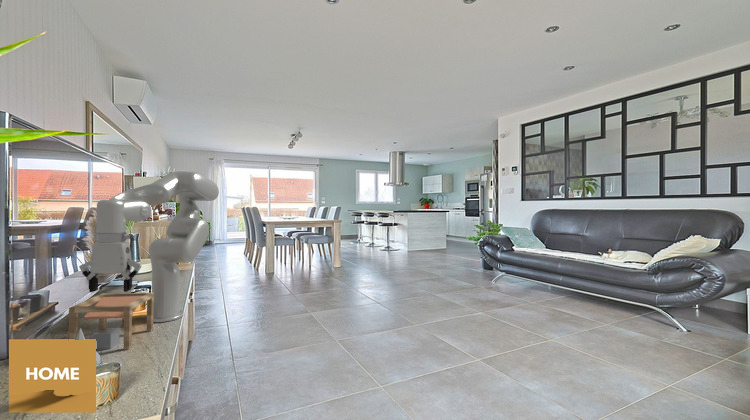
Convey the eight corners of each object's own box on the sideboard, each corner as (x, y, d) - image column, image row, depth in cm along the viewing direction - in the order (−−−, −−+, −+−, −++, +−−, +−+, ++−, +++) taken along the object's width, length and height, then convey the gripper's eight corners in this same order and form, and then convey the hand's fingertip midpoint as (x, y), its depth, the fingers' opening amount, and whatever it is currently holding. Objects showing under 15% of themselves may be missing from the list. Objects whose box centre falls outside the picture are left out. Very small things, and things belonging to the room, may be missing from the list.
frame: (101, 331, 120) (101, 293, 120) (153, 329, 123) (153, 292, 123) (68, 352, 104) (68, 308, 104) (129, 349, 107) (129, 306, 107)
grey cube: (102, 328, 111) (92, 334, 106) (119, 327, 112) (110, 333, 107) (102, 343, 111) (92, 350, 106) (119, 342, 112) (110, 349, 107)
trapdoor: (105, 297, 119) (104, 295, 118) (145, 296, 121) (144, 294, 121) (84, 319, 108) (83, 317, 108) (128, 317, 110) (128, 315, 110)
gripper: (146, 237, 116) (145, 287, 116) (88, 236, 113) (87, 288, 113) (135, 239, 108) (134, 293, 109) (72, 239, 105) (72, 294, 106)
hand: (110, 291), depth 111 cm, fingers open, 9 cm apart
